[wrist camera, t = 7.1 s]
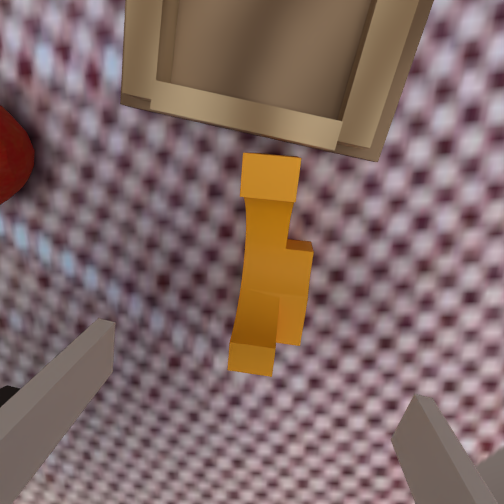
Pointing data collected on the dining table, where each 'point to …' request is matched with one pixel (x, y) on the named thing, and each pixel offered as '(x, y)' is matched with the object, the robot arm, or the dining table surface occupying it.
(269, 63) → the tray
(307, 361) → the dining table surface
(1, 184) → the apple
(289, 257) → the orange stepped block
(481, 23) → the dining table surface
